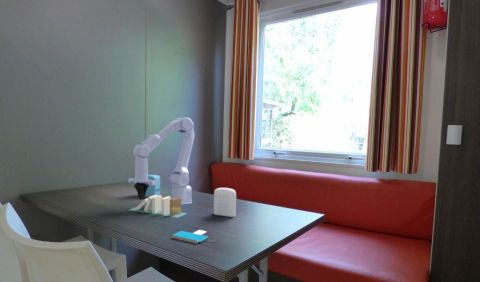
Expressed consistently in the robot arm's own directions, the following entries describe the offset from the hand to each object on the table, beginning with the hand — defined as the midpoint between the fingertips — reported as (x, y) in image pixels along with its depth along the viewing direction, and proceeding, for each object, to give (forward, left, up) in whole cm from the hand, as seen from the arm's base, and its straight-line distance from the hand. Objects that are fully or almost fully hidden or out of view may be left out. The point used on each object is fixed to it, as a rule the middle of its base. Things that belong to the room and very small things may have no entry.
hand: (141, 198), depth 139 cm
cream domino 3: (-4, +8, -5) cm, 10 cm away
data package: (-13, -25, -6) cm, 29 cm away
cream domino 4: (-7, +12, -5) cm, 15 cm away
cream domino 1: (0, -1, -4) cm, 4 cm away
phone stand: (-4, +44, -6) cm, 44 cm away
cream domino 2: (-2, +3, -5) cm, 6 cm away
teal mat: (-4, +8, -5) cm, 10 cm away
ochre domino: (-9, +16, -5) cm, 20 cm away
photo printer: (-28, +29, -6) cm, 41 cm away
